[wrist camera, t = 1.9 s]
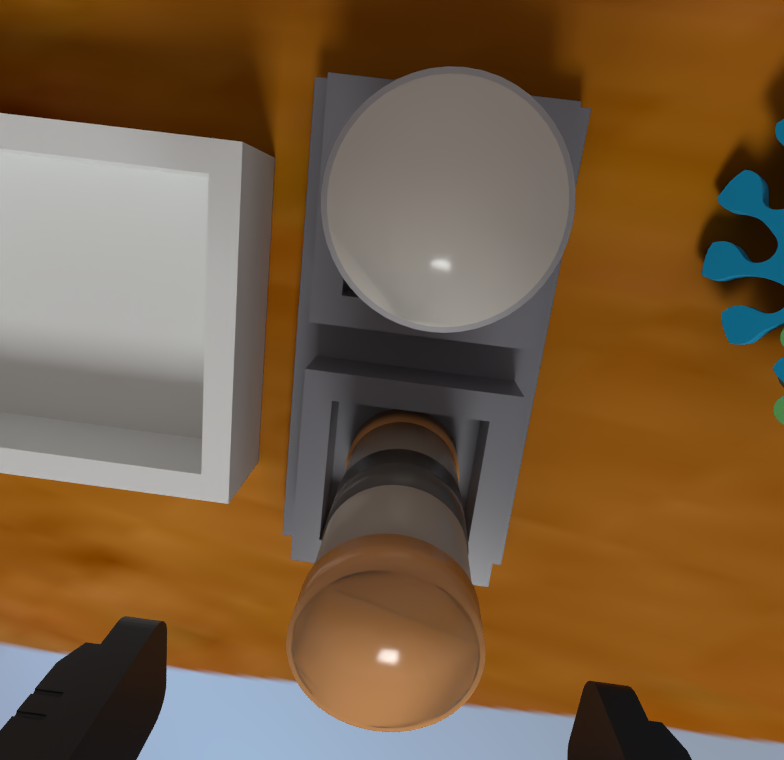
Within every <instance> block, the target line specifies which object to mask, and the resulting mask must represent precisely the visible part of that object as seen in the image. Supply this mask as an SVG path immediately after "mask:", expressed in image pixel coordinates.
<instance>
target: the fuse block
mask: <svg viewBox="0 0 784 760" xmlns="http://www.w3.org/2000/svg"><path fill="white" fill-rule="evenodd" d="M393 81H395V80H391V79H383V78H374V77H365V76H357V75H348V74H339V73H331V72H328V78H323V77H315V85H314V99H313V113H312V127H311V141H310V155H309V169H308V183H307V197H306V211H305V226H304V240H303V254H302V268H301V282H300V296H299V310H298V324H297V338H296V352H295V366H294V381H293V395H292V409H291V423H290V437H289V451H288V465H287V479H286V493H285V507H284V521H283V535H287V536H292V548H291V560H297V561H305V562H312V563H315V561H316V558H317V555H318V552H319V549H320V546H321V543H322V536H323V531H324V528H325V525H326V522H327V519H328V516H329V513H330V510H331V507H332V504H333V501H334V499H335V496H336V493H337V490H338V487H339V484H340V482H341V480H342V478H343V477H344V474H345V465H346V459H347V456H348V453H349V450H350V447H351V444H352V441H353V439H354V437H355V435H356V433H357V432H358V430H359V429H360V428H361V427H362V426H363V424H364V423H366V422H367V421H368V420H369V419H371V418H372V417H374V416H375V415H377V414H380V413H382V412H385V411H388V410H393V409H398V410H406V411H413V412H421V413H425V414H427V415H430V416H431V417H433V418H435V419H436V420H437V421H439V422H440V423H441V424H442V425H443V426H444V427H445V428H446V429H447V431H448V432H449V434H450V435H451V437H452V439H453V441H454V444H455V447H456V451H457V457H458V463H459V482H458V484H459V490H460V493H461V497H462V502H463V509H464V516H465V523H466V531H467V538H468V548H469V554H468V559H469V566H470V574H471V581H472V584H473V585H478V586H485V587H488V585H489V579H490V574H491V569H492V564H499V565H501V562H502V557H503V552H504V547H505V542H506V537H507V531H508V526H509V521H510V516H511V511H512V506H513V501H514V496H515V491H516V486H517V481H518V476H519V471H520V466H521V461H522V456H523V451H524V446H525V441H526V435H527V430H528V425H529V420H530V415H531V410H532V405H533V400H534V395H535V390H536V385H537V380H538V375H539V370H540V365H541V360H542V355H543V350H544V345H545V339H546V334H547V329H548V324H549V319H550V314H551V309H552V304H553V299H554V294H555V289H556V284H557V279H558V274H559V269H560V264H561V259H562V257H561V259H560V261H559V262H558V264H557V266H556V268H555V270H554V271H553V273H552V274H551V275H550V277H549V278H548V280H547V281H546V282H545V284H544V285H543V286H542V287H541V288H540V289H539V290H538V291H537V293H536V294H535V295H534V296H533V297H532V298H531V299H529V300H528V301H527V302H526V303H525V304H523V305H522V306H521V307H520V308H518V309H517V310H515V311H514V312H512V313H511V314H509V315H508V316H506V317H504V318H502V319H500V320H498V321H496V322H494V323H492V324H489V325H486V326H483V327H480V328H477V329H472V330H467V331H462V332H450V333H439V332H427V331H422V330H417V329H413V328H410V327H407V326H404V325H401V324H398V323H396V322H394V321H392V320H390V319H388V318H386V317H384V316H382V315H381V314H379V313H378V312H376V311H375V310H373V309H372V308H371V307H369V306H368V305H367V304H366V303H365V302H364V301H362V300H361V299H360V298H359V297H358V296H357V295H356V293H355V292H354V291H353V290H352V289H351V288H350V287H349V285H348V284H347V283H346V281H345V280H344V278H343V277H342V275H341V274H340V272H339V270H338V268H337V267H336V265H335V263H334V261H333V259H332V256H331V254H330V251H329V248H328V245H327V243H326V238H325V234H324V230H323V224H322V215H321V191H322V184H323V177H324V172H325V169H326V165H327V161H328V158H329V155H330V153H331V151H332V148H333V146H334V143H335V141H336V139H337V138H338V136H339V134H340V132H341V131H342V129H343V127H344V126H345V124H346V123H347V122H348V120H349V119H350V118H351V116H352V115H353V114H354V112H355V111H356V110H357V109H358V108H359V107H360V106H361V105H362V104H363V103H364V102H365V101H366V100H367V99H368V98H369V97H371V96H372V95H373V94H375V93H376V92H377V91H378V90H380V89H381V88H383V87H384V86H386V85H388V84H390V83H391V82H393ZM532 97H533V98H534V99H535V100H536V101H537V102H538V103H539V104H540V105H541V106H542V107H543V108H544V110H545V111H546V112H547V113H548V115H549V116H550V117H551V119H552V120H553V121H554V123H555V125H556V126H557V128H558V130H559V132H560V133H561V135H562V137H563V140H564V142H565V145H566V147H567V150H568V152H569V155H570V159H571V163H572V167H573V172H574V180H575V188H576V183H577V178H578V173H579V168H580V163H581V158H582V153H583V148H584V142H585V137H586V132H587V127H588V122H589V117H590V112H591V108H582V107H581V103H582V101H573V100H565V99H556V98H547V97H539V96H532Z"/></svg>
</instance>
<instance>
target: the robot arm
mask: <svg viewBox="0 0 784 760" xmlns="http://www.w3.org/2000/svg"><path fill="white" fill-rule="evenodd" d="M166 661H167V627H166V623H165V622H163V621H156V620H149V619H141V618H134V617H127V616H126V617H123V618H121V619H120V620H119V621H118V622H117V623H116V625H115V626H114V627H113V629H112V630H111V631H110V633H109V634H108V635H107V637H106V638H105V639H104V641H103V642H102V643H101V644H94V643H84V644H83V645H82V646H80V647H79V648H77V649H76V650H74V651H73V652H71V653H70V654H69V655H67V656H66V657H64V658H63V659H61V660H60V661H58V662H57V663H56V664H55V666H54V667H53V668H52V669H51V670H50V671H49V673H48V674H47V675H46V676H45V677H44V679H43V680H42V681H41V682H40V684H39V685H38V686H37V687H36V688H35V691H34V693H33V694H30V695H29V697H28V698H27V699H26V700H25V702H24V703H23V704H22V705H21V706H20V707H19V709H18V710H17V713H16V715H15V716H14V717H13V716H12V717H11V719H9V721H8V722H7V723H6V724H5V726H4V727H3V728H2V729H1V730H0V760H136V759H137V757H138V756H139V754H140V752H141V750H142V748H143V746H144V744H145V742H146V740H147V739H148V737H149V735H150V733H151V731H152V729H153V727H154V725H155V723H156V721H157V719H158V716H159V713H160V711H161V708H162V704H163V700H164V696H165V690H166ZM568 760H692V759H691V757H690V755H689V754H688V752H687V750H686V749H685V748H684V747H683V746H682V745H681V743H680V742H679V741H678V740H677V739H676V738H675V737H674V736H673V734H672V733H671V732H670V731H669V730H668V729H667V728H666V727H665V726H664V724H663V723H662V722H654V721H648V718H647V716H646V714H645V712H644V710H643V708H642V706H641V704H640V702H639V699H638V697H637V695H636V693H635V692H634V690H633V689H632V688H631V687H629V686H624V685H617V684H609V683H602V682H594V681H588V682H587V683H586V684H585V686H584V689H583V692H582V696H581V699H580V703H579V707H578V710H577V714H576V718H575V721H574V725H573V729H572V732H571V736H570V740H569V744H568Z"/></svg>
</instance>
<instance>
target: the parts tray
mask: <svg viewBox="0 0 784 760" xmlns="http://www.w3.org/2000/svg"><path fill="white" fill-rule="evenodd" d="M274 168H275V158H274V157H272V156H270V155H268V154H266V153H264V152H262V151H260V150H258V149H256V148H254V147H252V146H250V145H248V144H246V143H244V142H240V141H232V140H223V139H215V138H207V137H198V136H190V135H181V134H173V133H165V132H156V131H148V130H139V129H131V128H123V127H114V126H106V125H97V124H89V123H81V122H72V121H64V120H55V119H47V118H39V117H30V116H22V115H13V114H5V113H0V473H6V474H13V475H20V476H28V477H35V478H43V479H50V480H57V481H65V482H72V483H79V484H87V485H94V486H101V487H109V488H116V489H123V490H131V491H138V492H145V493H153V494H160V495H167V496H175V497H182V498H189V499H197V500H204V501H212V502H219V503H226V504H229V502H230V501H231V499H232V498H233V497H234V495H235V494H236V492H237V491H238V490H239V488H240V487H241V486H242V484H243V483H244V481H245V480H246V479H247V477H248V476H249V474H250V473H251V472H252V470H253V469H254V468H255V466H256V465H257V463H258V458H259V440H260V422H261V404H262V386H263V368H264V349H265V331H266V313H267V295H268V277H269V258H270V240H271V222H272V204H273V186H274Z"/></svg>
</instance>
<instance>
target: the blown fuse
mask: <svg viewBox="0 0 784 760" xmlns="http://www.w3.org/2000/svg"><path fill="white" fill-rule="evenodd" d="M458 482H459V463H458V457H457V451H456V447H455V444H454V441H453V439H452V437H451V435H450V434H449V432H448V431H447V429H446V428H445V427H444V426H443V425H442V424H441V423H440V422H439V421H437V420H436V419H435V418H433V417H431V416H430V415H427V414H425V413H421V412H413V411H406V410H398V409H393V410H388V411H385V412H382V413H380V414H377V415H375V416H374V417H372V418H371V419H369V420H368V421H367V422H366V423H364V424H363V426H362V427H361V428H360V429H359V430H358V432H357V433H356V435H355V437H354V439H353V441H352V444H351V447H350V450H349V453H348V456H347V459H346V465H345V474H344V477H343V478H342V480H341V482H340V484H339V487H338V490H337V493H336V496H335V499H334V501H333V504H332V507H331V510H330V513H329V516H328V519H327V522H326V525H325V528H324V531H323V536H322V543H321V546H320V549H319V552H318V555H317V558H316V561H315V564H314V566H313V567H312V569H311V570H310V572H309V573H308V575H307V577H306V579H305V581H304V583H303V586H302V589H301V592H300V595H299V598H298V601H297V604H296V606H295V609H294V612H293V615H292V618H291V621H290V624H289V627H288V633H287V656H288V661H289V665H290V668H291V671H292V673H293V675H294V677H295V679H296V681H297V683H298V684H299V686H300V687H301V689H302V690H303V691H304V693H305V694H306V695H307V696H308V697H309V698H310V700H312V701H313V702H314V703H315V704H316V705H317V706H318V707H319V708H321V709H322V710H324V711H325V712H326V713H328V714H329V715H331V716H333V717H335V718H336V719H338V720H340V721H343V722H345V723H347V724H350V725H353V726H356V727H359V728H363V729H368V730H373V731H382V732H401V731H410V730H415V729H419V728H423V727H426V726H429V725H432V724H435V723H437V722H439V721H441V720H443V719H445V718H446V717H448V716H449V715H451V714H453V713H454V712H455V711H457V710H458V709H459V708H460V707H461V706H462V705H463V704H464V703H465V702H466V701H467V700H468V699H469V698H470V697H471V695H472V694H473V692H474V691H475V689H476V687H477V685H478V683H479V681H480V679H481V676H482V673H483V669H484V664H485V642H484V635H483V628H482V621H481V615H480V608H479V602H478V597H477V594H476V591H475V589H474V586H473V584H472V581H471V574H470V566H469V559H468V554H469V548H468V538H467V531H466V523H465V516H464V509H463V502H462V497H461V493H460V490H459V484H458Z"/></svg>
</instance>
